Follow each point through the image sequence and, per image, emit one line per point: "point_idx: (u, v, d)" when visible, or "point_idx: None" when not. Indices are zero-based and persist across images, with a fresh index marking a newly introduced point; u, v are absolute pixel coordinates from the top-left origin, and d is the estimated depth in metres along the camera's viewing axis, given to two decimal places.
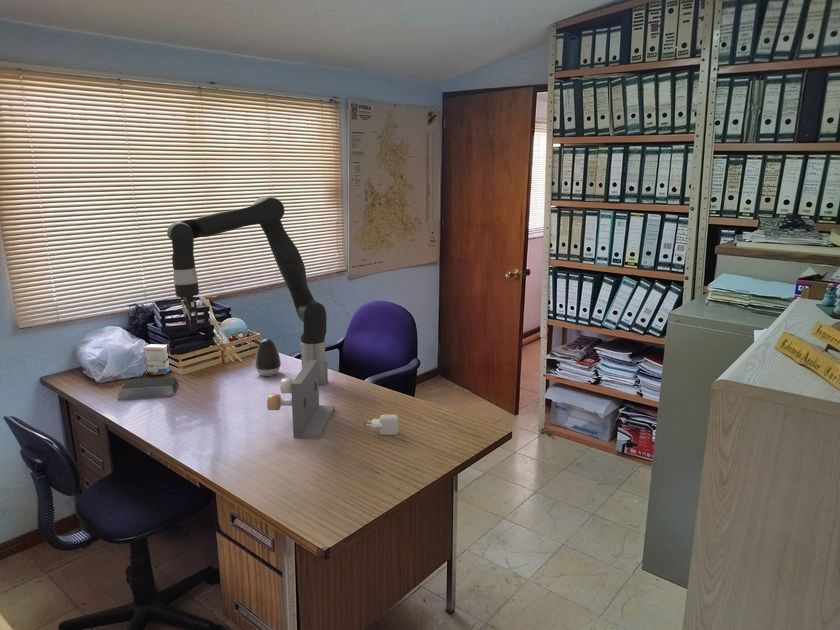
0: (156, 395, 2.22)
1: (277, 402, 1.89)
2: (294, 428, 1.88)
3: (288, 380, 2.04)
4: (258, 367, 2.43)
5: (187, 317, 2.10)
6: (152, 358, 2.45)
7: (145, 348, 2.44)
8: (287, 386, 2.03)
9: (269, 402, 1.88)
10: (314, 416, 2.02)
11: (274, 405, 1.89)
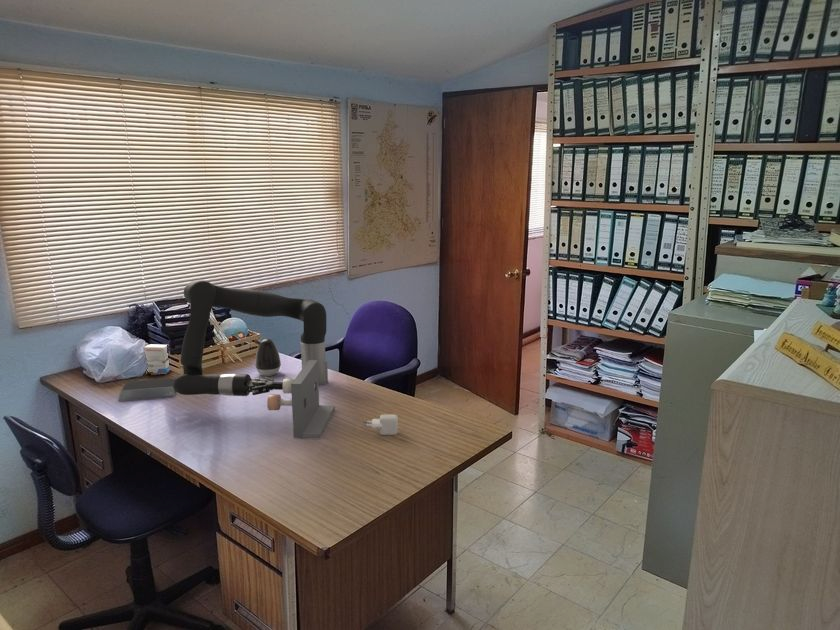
0: (157, 396, 2.21)
1: (277, 402, 1.89)
2: (294, 428, 1.88)
3: (290, 380, 2.04)
4: (258, 367, 2.43)
5: None
6: (152, 358, 2.45)
7: (145, 348, 2.44)
8: (289, 386, 2.03)
9: (269, 402, 1.88)
10: (314, 416, 2.02)
11: (274, 405, 1.89)
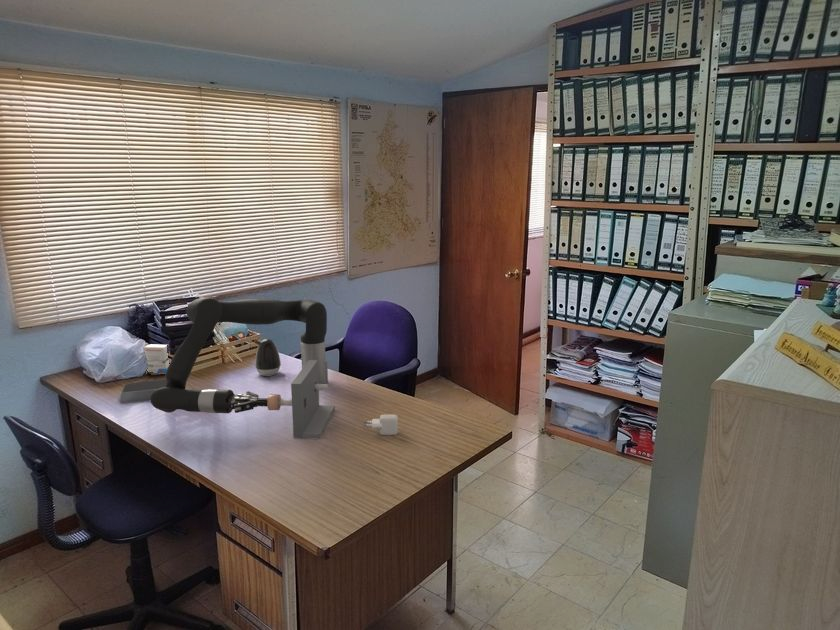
0: None
1: (277, 402, 1.89)
2: (294, 428, 1.88)
3: None
4: (258, 367, 2.43)
5: None
6: (152, 358, 2.45)
7: (145, 348, 2.44)
8: None
9: (269, 402, 1.88)
10: (314, 416, 2.02)
11: (274, 405, 1.89)
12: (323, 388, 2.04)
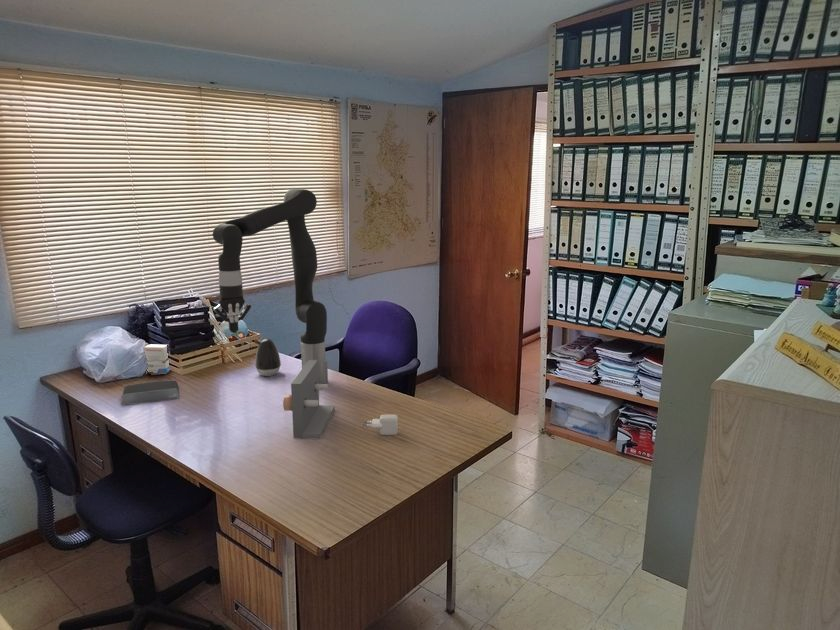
0: (161, 398, 2.19)
1: None
2: (294, 428, 1.88)
3: None
4: (258, 367, 2.43)
5: None
6: (152, 358, 2.45)
7: (145, 348, 2.44)
8: None
9: (285, 402, 1.88)
10: (314, 416, 2.02)
11: (290, 406, 1.88)
12: (323, 388, 2.04)
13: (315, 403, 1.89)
